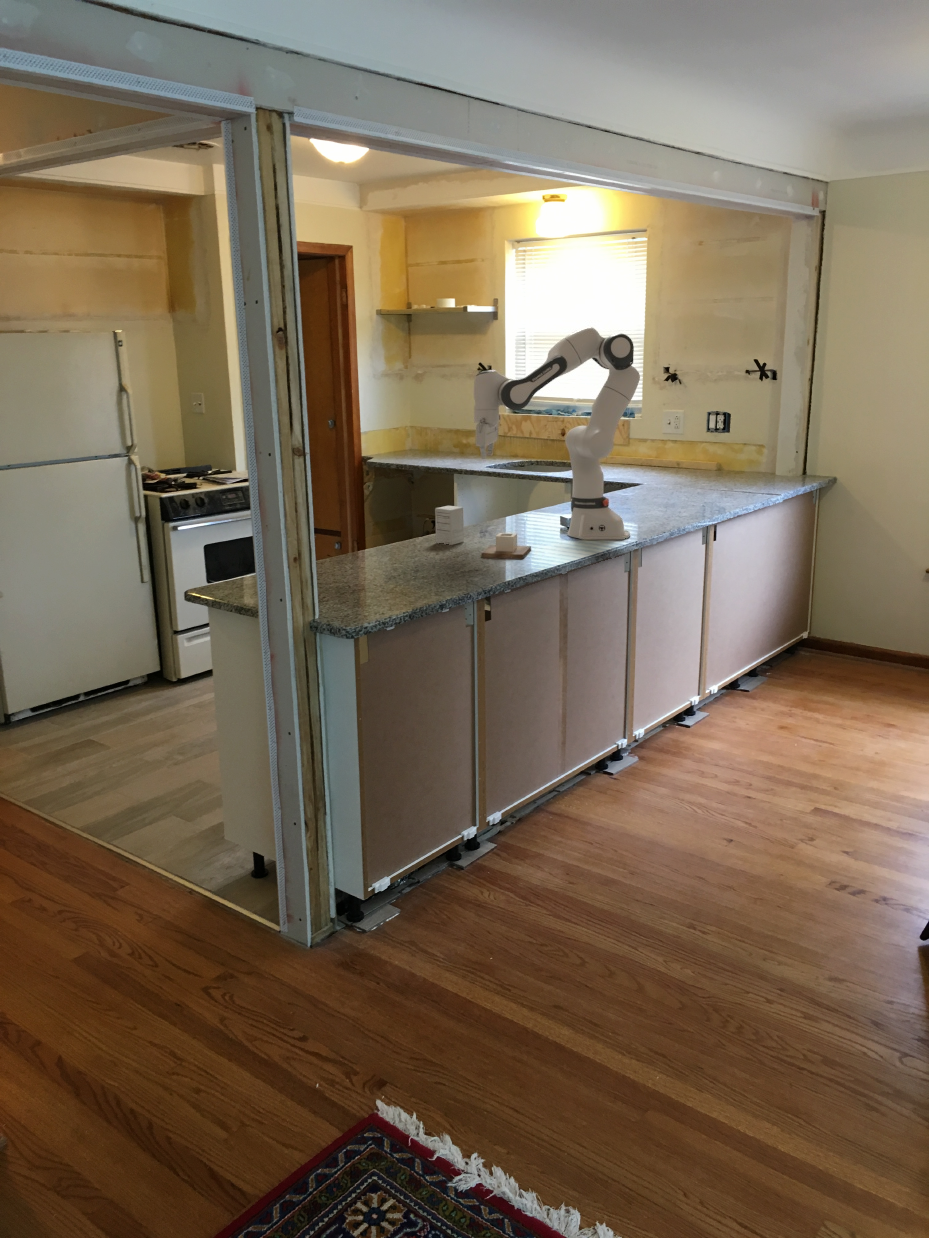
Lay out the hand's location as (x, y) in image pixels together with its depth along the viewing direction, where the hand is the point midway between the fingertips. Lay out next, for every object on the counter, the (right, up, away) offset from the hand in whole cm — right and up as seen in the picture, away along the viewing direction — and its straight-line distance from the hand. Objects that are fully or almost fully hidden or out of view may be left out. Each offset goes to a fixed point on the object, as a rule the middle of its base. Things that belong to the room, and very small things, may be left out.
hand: (486, 457), depth 355 cm
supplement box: (-13, -31, -1) cm, 34 cm away
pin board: (+6, -36, -22) cm, 42 cm away
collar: (+6, -35, -22) cm, 41 cm away
